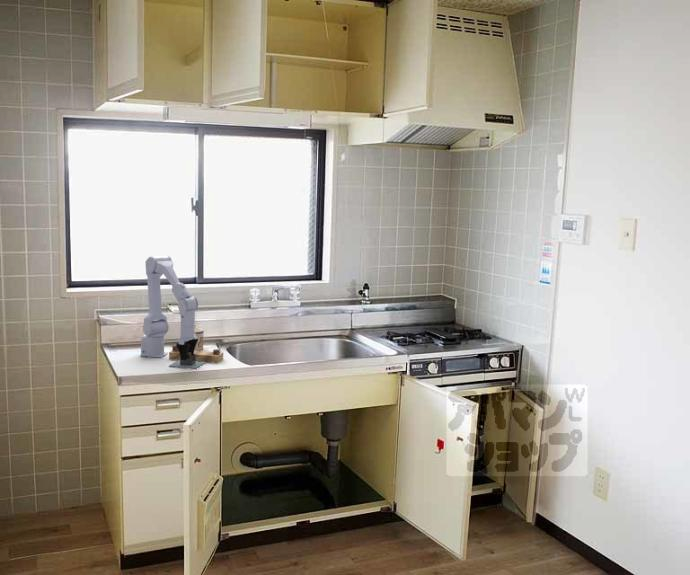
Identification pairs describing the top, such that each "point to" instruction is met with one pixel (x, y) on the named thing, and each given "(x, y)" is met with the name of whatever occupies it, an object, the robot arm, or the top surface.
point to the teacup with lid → (199, 338)
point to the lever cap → (188, 360)
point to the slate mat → (194, 366)
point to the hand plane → (199, 355)
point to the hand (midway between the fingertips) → (187, 357)
